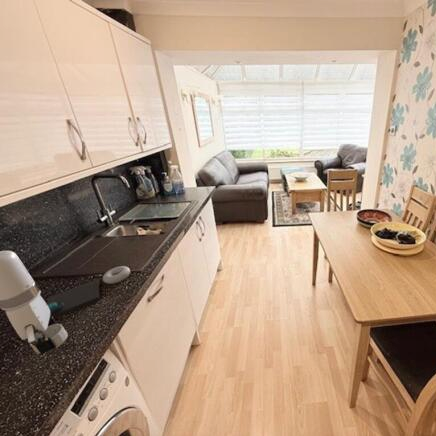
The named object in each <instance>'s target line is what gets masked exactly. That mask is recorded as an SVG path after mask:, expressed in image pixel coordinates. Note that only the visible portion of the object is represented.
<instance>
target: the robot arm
mask: <svg viewBox="0 0 436 436" xmlns="http://www.w3.org/2000/svg"><path fill="white" fill-rule="evenodd" d="M41 293H42V291H41V290H40V288H39V286H38V285H37V283H36V282H35V280H34V279H33V277H32V275H31V274H30V273H29V271H28V269H27V268H26V266H25V265H24V263H23V262H22V260H21V259H20V258H19V256H18V255H17V253H16V252H15V251H12V250H0V309H1V310H2V311H5V314H6V316H7V319H8V320H9V322H10V324H11V326H12V327H13V329H14V330H15V332H16V333H17V335H18V336H19V338H20V339H21V340H23V341H26V340H27V342H28V344H29V345H30V344H32V345H33V346H35V347H36V348H37V349H38V351H39V352H40V353H41V354H40V355H43V354H46V353H49V352H51V351H54V350H55V349H57V348H56V345H55V344H54V342H53V341H52V339H51V338H50V337H49V338H48V336H47V334H46V331H45V330H46V329H47V327H48V326H50V325H53V324H58V323H57V321H55V318H54V319H53V317H52V316H51V315H50V309H49V307H48V305H47V301H45V300H44V298H43V297H42V296H41ZM51 319H52V320H51ZM40 330H41V331H40ZM38 331H39V332H38ZM41 333H42V336H43V337H40V338H38V337H37V336H36V335H38V334H41ZM53 349H54V350H53ZM48 351H49V352H48Z"/></svg>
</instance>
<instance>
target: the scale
mask: <svg viewBox="0 0 436 436" xmlns="http://www.w3.org/2000/svg"><path fill="white" fill-rule="evenodd" d="M99 301H101V282H100V279H98V278H96V279H94V280H92V281H88V282H86V283H83V284H79V285H78V286H75V287H72V288H70V289H67V290H64V291H62V292H59V293H56V294H53V295H50V296H48V297H47V300H46V304H47V305H49V304H51V303H53V302H56V303H57V305H58V306H57V307H56V308H55V309H52V310H50V315H51V316H52V317H53V319H54V320H55V319H57V318H59V317H61V316H64V315H66V314H69V313H71V312H74V311H77V310H78V309H82V308H83V307H86V306H88V305H91V304H94V303H97V302H99ZM51 320H52V319H51Z"/></svg>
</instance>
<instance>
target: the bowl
mask: <svg viewBox="0 0 436 436" xmlns="http://www.w3.org/2000/svg"><path fill="white" fill-rule="evenodd" d="M39 331H41V330H37V332H39ZM45 331H46V334H47V336H48V338H49V337H50V338H51V339H52V341H53V342H54V344H55V345H56V348H55V349H57V348H58V347H60V346H61V345H62V344H64V342H66V340H67V339H68V336H69V334H68V332H67V331H66V329H65V327H64V326H63V324H61V323H57V324H53V325H50V326H48V327H47V329H46V330H45ZM36 336H37V337H38V338H40V337H43V336H42V333H41V334H38V335H36ZM29 345H30V347H31V348H32V349H33V351H34V352H35V353H36V354H39V355H42V354H41V353H40V352H39V351H38V349H37V348H36V347H35V346H33V345H32V344H29ZM55 349H53V350H52V351H54V350H55ZM49 352H50V351H48V352H47V353H49Z"/></svg>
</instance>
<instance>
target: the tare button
mask: <svg viewBox="0 0 436 436" xmlns="http://www.w3.org/2000/svg"><path fill="white" fill-rule="evenodd" d="M57 306H58V305H57V303H56V302H53V303H51V304H49V305H48V307H49V309H50V310H52V309H55V308H56V307H57Z"/></svg>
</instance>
